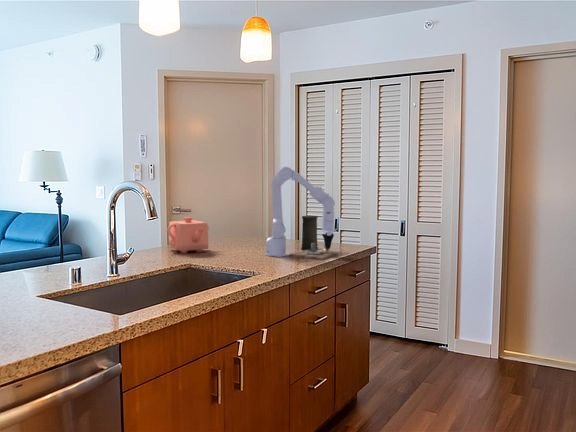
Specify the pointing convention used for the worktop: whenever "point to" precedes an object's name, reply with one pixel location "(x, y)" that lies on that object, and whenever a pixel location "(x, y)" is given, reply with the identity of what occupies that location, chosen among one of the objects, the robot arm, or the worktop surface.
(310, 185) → the robot arm
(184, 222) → the teapot
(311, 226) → the container
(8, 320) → the worktop surface
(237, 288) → the worktop surface
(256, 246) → the worktop surface
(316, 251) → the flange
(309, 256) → the jig base
